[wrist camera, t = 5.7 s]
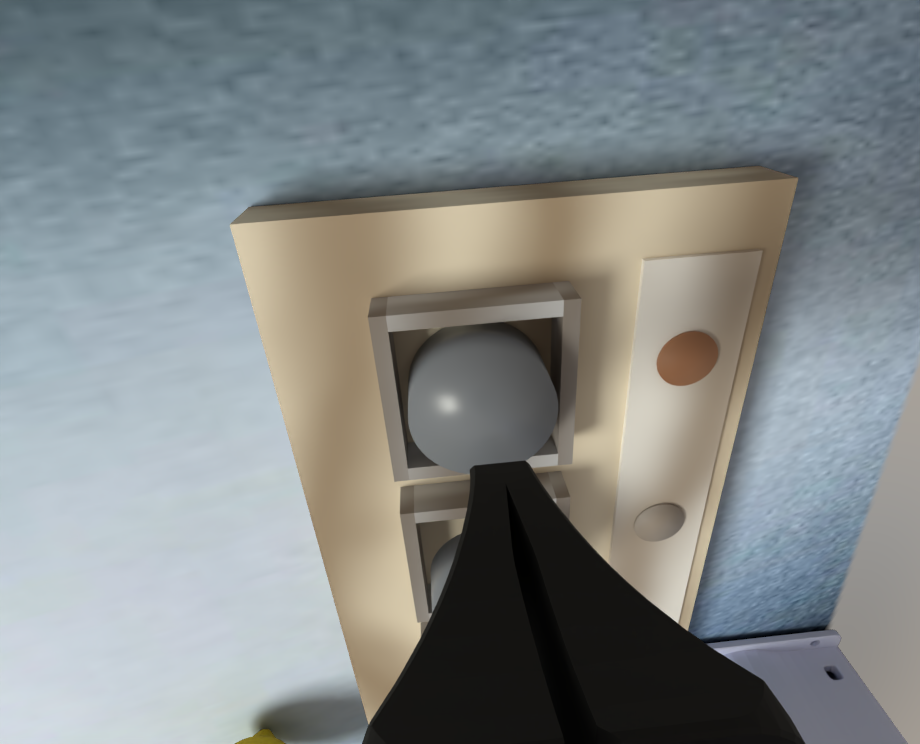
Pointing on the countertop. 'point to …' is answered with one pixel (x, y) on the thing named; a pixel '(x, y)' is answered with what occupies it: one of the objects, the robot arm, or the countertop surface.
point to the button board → (561, 348)
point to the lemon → (261, 738)
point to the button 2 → (480, 397)
